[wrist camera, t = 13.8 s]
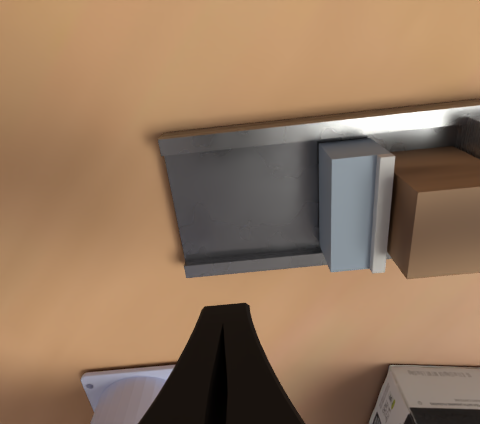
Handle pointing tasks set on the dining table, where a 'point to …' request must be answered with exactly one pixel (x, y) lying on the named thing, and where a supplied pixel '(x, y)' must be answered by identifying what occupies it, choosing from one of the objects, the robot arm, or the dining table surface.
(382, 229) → the block
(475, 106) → the vise
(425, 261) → the block
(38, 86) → the dining table surface
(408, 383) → the tea box
